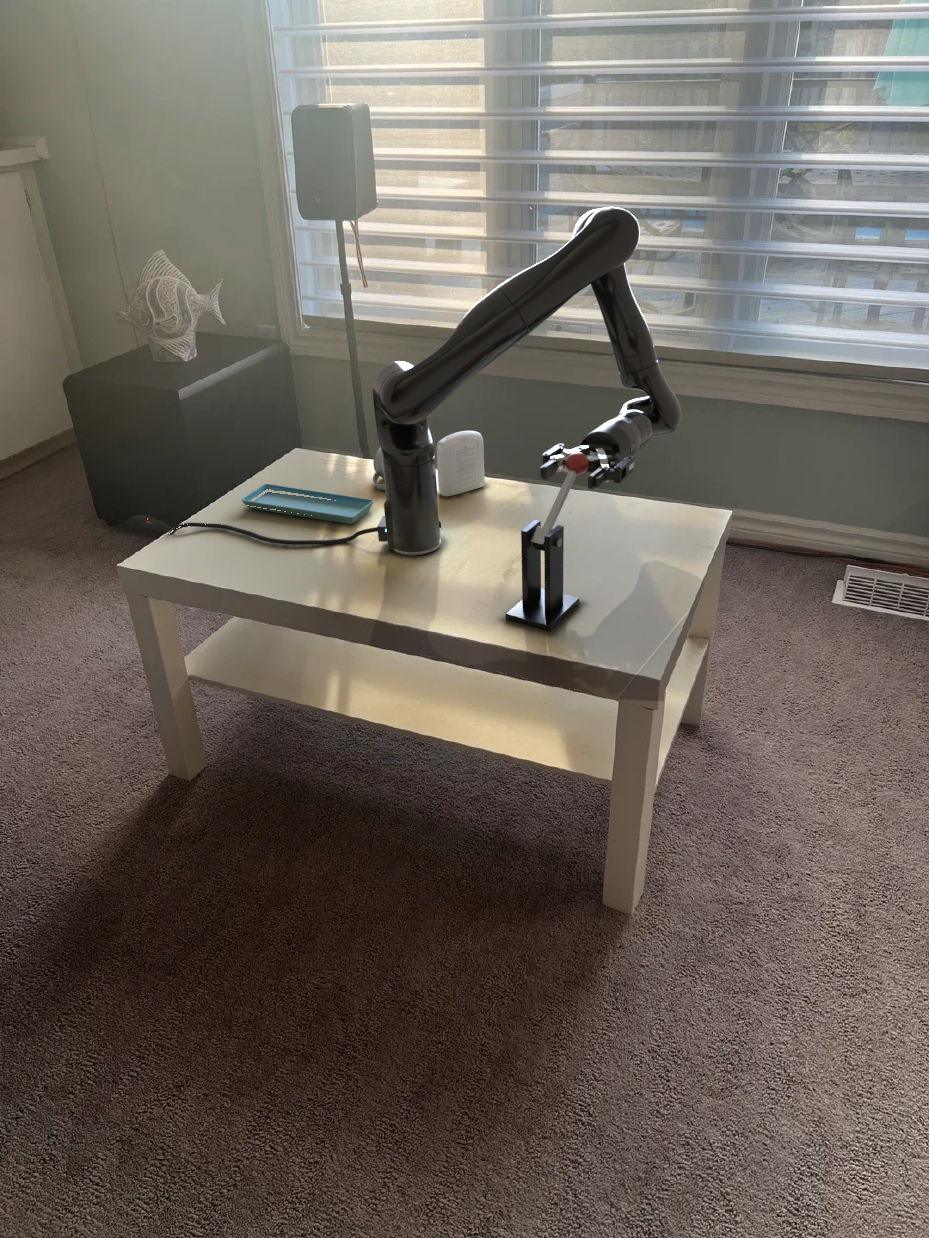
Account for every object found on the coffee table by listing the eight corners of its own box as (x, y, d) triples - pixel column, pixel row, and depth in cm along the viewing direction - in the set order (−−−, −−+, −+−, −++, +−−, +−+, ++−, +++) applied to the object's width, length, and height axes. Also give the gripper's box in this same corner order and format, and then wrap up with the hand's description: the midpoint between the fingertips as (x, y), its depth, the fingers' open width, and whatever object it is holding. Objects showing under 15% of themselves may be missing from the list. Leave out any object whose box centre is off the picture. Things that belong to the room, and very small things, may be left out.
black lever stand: (536, 592, 152) (535, 511, 145) (579, 604, 148) (581, 520, 141) (505, 620, 145) (502, 535, 138) (550, 632, 141) (550, 546, 134)
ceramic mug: (391, 470, 202) (387, 437, 198) (423, 475, 199) (420, 441, 195) (364, 488, 195) (360, 454, 190) (396, 494, 191) (392, 459, 187)
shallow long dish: (376, 508, 185) (374, 497, 184) (354, 527, 178) (352, 515, 176) (267, 493, 194) (265, 482, 193) (241, 511, 187) (239, 499, 186)
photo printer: (476, 480, 195) (474, 424, 189) (488, 486, 192) (486, 429, 185) (435, 493, 190) (431, 435, 184) (446, 499, 187) (443, 441, 181)
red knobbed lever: (574, 458, 147) (568, 445, 144) (594, 462, 145) (588, 449, 142) (532, 550, 142) (525, 538, 139) (552, 554, 140) (546, 543, 137)
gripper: (573, 417, 155) (526, 448, 144) (653, 429, 148) (609, 463, 137) (573, 459, 159) (526, 493, 147) (650, 473, 152) (607, 509, 140)
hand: (566, 478), depth 142 cm, fingers open, 7 cm apart
